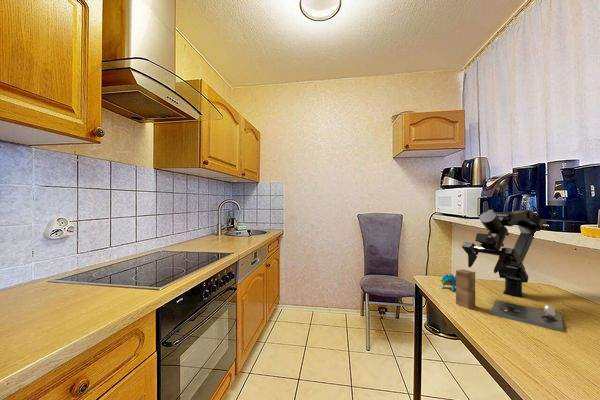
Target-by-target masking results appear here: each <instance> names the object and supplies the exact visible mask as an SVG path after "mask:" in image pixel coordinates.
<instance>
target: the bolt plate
mask: <svg viewBox="0 0 600 400" xmlns="http://www.w3.org/2000/svg"><path fill="white" fill-rule="evenodd" d="M491 306H492V307H491V308H490V311H489V314H490V315H492V316H496V317H500V318H506V319H509V320H513V321H516V322H517V321H518V322H521V323H526V324H530V325H534V326H538V327H541V328H546V329H550V330H554V331H558V332H563V333H564V324H563V318H562V317H563V315H562V313H558V312H556V307H555V306H554V305H551V304H550V305H549V304H544V305H543V309H540V308H535V307H530V306H525V305H520V304H516V303H511V302H505V301H501V300H497V299H496V300H495V301H494V303H493V305H491Z"/></svg>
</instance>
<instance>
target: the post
mask: <svg viewBox="0 0 600 400" xmlns="http://www.w3.org/2000/svg"><path fill="white" fill-rule="evenodd" d="M455 275H456V286H455V305H458V306H459V307H463V308H466V309H470V308H471V309H472V308H475V307H476V271H472V270H469V269H464V268H463V269H457V270H455Z"/></svg>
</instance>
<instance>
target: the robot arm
mask: <svg viewBox="0 0 600 400" xmlns="http://www.w3.org/2000/svg"><path fill="white" fill-rule="evenodd" d="M478 219H479V221H480V223H481V224H482V225H483V226H484V228H485V229H486V230H487V231H488V232H487V233H478V232H476V236H475V242H477V243H478V245H479V246H480V247H478V246H476V245H475V243H472V242H463V244H462V245H461V248H462V249H463V251H464V252H465V253H466V255H467V265H468V266H467V267H468V268H472V266H473V264H475V261H476V260H477V258H478V255H479V253H481V254H488V255H494V256H498V259H497V262H496V263H495V266H494V269H493V273H494V274H497V273H498V276H499V278H500V279H504V289H503V292H502V293H503V294H504V295H509V296H515V297H519V298H520V297H521V298H523V297H524V294H525V293H524V292H523V283H528V282H529V275H528V273H527V271H526V267H525V265H524V260H525V258H526V257H527V254H528V251H529V249H530V247H531V245H532V242H533V240H534V239H535V238H534V237H533V236H534V233H535V232H536V231H540V230H542V226H543V222H544V221H543V218H541V217H540V216H539V215H536V214H535V213H534V211H533V210H530V209H519V210H515V211H510V212H505V211H504V212H500V211H498V212H497V211H495V210H494V209H488V210H487V211H485V212H483V213H481V214H480V215H479V216H478ZM516 225H517V226H518V229H519V232H520V234H519V235H518V237H517V239H516V242H515V243H514V246H513V248H510V247H509V248H508V247H504V246H505V243H504V241H505V238H506V236H507V237H508V236H510V233H509V230H508V227H513V226H516Z"/></svg>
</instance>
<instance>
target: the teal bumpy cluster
mask: <svg viewBox="0 0 600 400" xmlns="http://www.w3.org/2000/svg"><path fill="white" fill-rule="evenodd" d="M440 282H441V284H442V286H441V289H444V288H445V286H451V292H453V293H454V292H455V291H456V274H455V276H454V275H453V274H452V273H449V275H448V274H447V273H446V274H445V275H444V276H442V277H441V278H440Z"/></svg>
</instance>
